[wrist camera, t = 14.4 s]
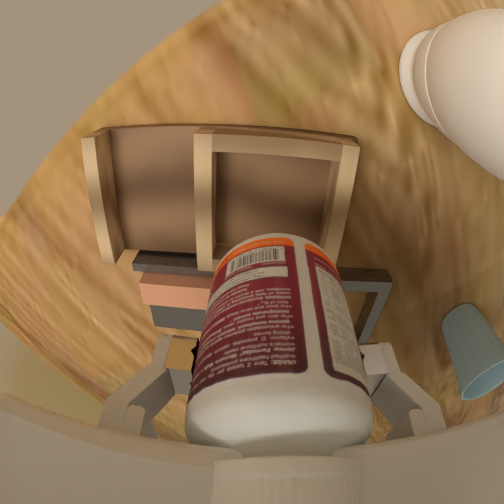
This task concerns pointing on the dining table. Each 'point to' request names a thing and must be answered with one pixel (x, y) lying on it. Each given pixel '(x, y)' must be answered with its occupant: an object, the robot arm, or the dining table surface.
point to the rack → (216, 187)
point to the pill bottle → (280, 377)
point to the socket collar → (378, 292)
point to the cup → (473, 351)
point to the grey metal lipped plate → (172, 265)
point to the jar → (461, 83)
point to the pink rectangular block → (175, 290)
